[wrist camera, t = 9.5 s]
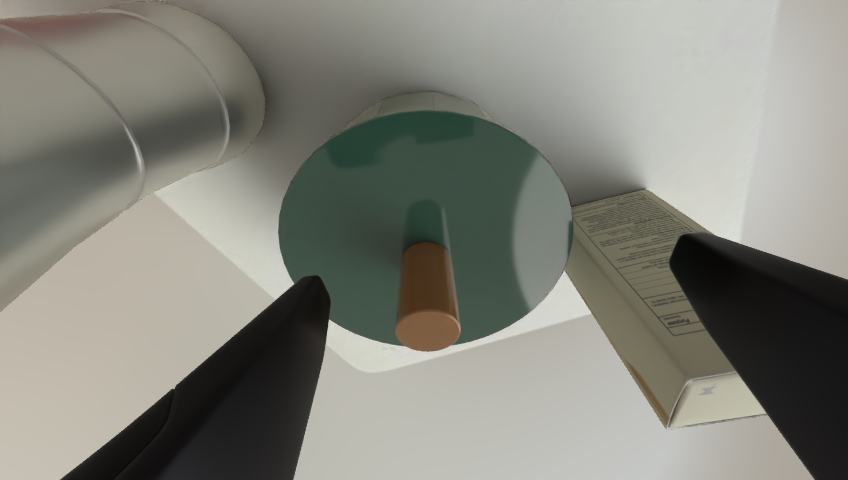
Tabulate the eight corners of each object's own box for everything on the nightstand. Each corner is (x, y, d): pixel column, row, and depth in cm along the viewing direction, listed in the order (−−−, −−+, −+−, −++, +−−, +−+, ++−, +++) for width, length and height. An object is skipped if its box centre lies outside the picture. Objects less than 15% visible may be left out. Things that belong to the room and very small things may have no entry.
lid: (588, 77, 11) (693, 110, 7) (548, 321, 18) (586, 407, 14) (231, 130, 12) (126, 190, 8) (336, 341, 19) (314, 427, 15)
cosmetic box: (553, 256, 23) (656, 434, 13) (552, 208, 20) (678, 382, 11) (644, 238, 22) (829, 414, 12) (654, 185, 20) (896, 352, 10)
